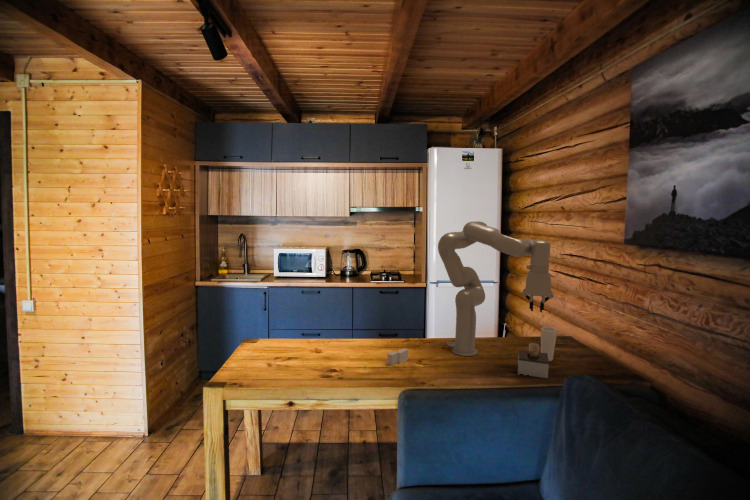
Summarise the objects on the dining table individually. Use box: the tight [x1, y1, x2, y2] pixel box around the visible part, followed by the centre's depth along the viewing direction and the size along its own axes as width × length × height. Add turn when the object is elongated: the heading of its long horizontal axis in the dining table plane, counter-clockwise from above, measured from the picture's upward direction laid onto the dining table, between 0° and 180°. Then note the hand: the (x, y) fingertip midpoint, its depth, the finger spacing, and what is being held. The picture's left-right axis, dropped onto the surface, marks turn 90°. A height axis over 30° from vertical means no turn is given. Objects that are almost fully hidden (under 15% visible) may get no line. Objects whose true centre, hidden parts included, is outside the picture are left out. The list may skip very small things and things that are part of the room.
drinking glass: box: [540, 326, 558, 362], centre depth 198 cm, size 7×7×15 cm
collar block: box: [517, 349, 550, 379], centre depth 184 cm, size 12×12×7 cm
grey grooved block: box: [386, 347, 409, 367], centre depth 191 cm, size 15×11×6 cm
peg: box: [528, 342, 540, 358], centre depth 184 cm, size 4×4×6 cm
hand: (536, 310), depth 182 cm, fingers open, 3 cm apart
